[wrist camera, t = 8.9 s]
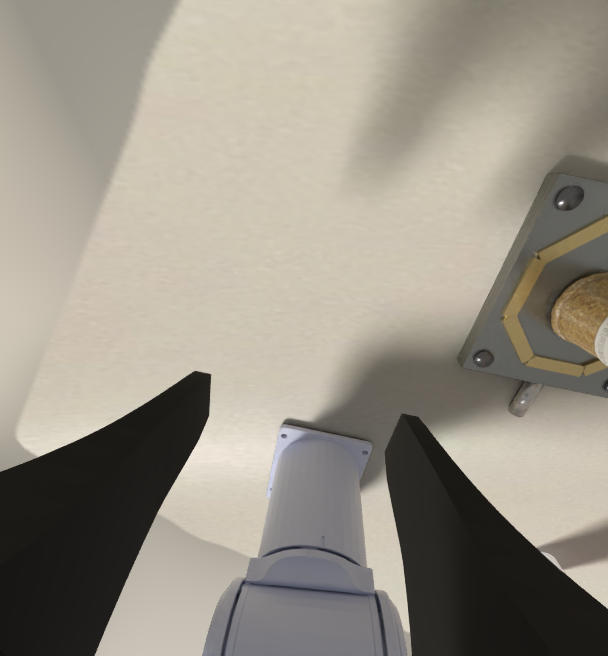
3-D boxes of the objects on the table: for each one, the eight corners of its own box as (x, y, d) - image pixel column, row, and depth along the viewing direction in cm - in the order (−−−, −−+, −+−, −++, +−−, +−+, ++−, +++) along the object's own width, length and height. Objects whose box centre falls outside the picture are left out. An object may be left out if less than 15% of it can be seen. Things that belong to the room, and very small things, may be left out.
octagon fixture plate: (582, 422, 22) (595, 434, 21) (440, 393, 22) (446, 403, 21) (747, 215, 16) (778, 217, 15) (547, 174, 16) (563, 173, 15)
